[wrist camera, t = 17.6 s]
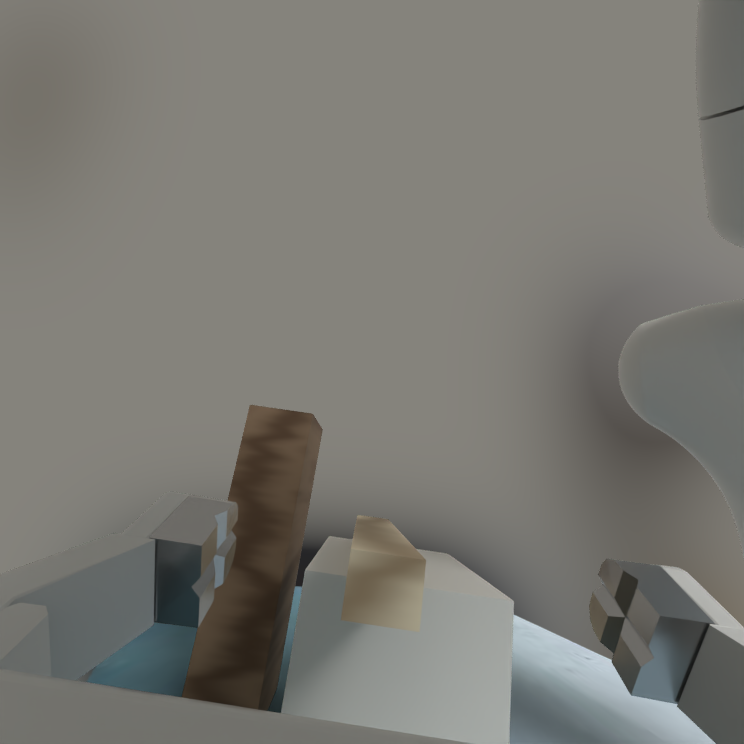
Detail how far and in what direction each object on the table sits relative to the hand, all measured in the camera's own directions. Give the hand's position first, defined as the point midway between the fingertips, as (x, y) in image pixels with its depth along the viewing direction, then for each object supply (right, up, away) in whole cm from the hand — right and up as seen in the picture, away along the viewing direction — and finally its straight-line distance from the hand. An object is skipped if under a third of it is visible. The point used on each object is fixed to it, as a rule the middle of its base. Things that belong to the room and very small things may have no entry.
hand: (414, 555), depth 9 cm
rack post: (-13, -25, +26) cm, 39 cm away
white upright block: (-1, -25, +18) cm, 31 cm away
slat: (-1, -9, +18) cm, 20 cm away
